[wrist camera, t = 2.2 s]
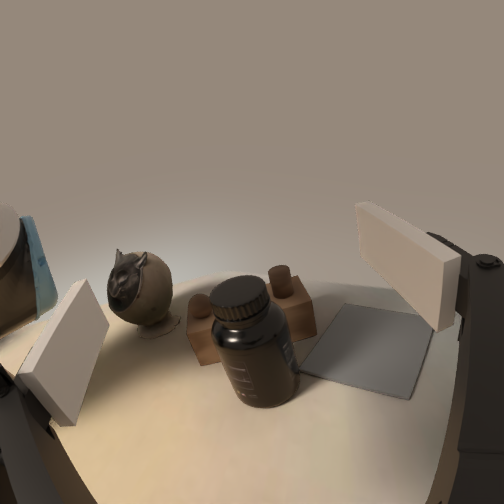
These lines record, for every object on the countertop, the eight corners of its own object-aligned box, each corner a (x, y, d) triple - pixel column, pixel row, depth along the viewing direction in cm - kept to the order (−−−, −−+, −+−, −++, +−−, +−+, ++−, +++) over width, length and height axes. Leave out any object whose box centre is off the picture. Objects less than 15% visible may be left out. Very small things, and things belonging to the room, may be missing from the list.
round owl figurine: (115, 345, 43) (172, 347, 40) (77, 276, 38) (135, 268, 35) (144, 306, 52) (197, 302, 49) (115, 243, 47) (170, 232, 44)
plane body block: (201, 366, 36) (177, 312, 33) (200, 335, 41) (180, 284, 38) (317, 334, 36) (308, 276, 33) (303, 307, 42) (293, 253, 39)
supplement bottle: (266, 354, 36) (240, 262, 31) (314, 376, 31) (297, 277, 26) (221, 391, 32) (182, 299, 27) (268, 422, 27) (234, 325, 22)
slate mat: (298, 371, 32) (298, 368, 32) (345, 305, 40) (344, 303, 40) (409, 400, 25) (409, 397, 24) (435, 320, 33) (435, 317, 32)
